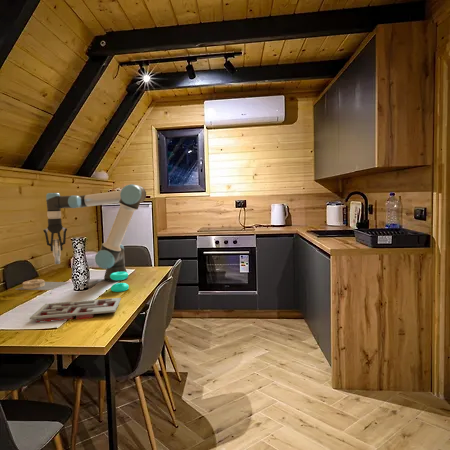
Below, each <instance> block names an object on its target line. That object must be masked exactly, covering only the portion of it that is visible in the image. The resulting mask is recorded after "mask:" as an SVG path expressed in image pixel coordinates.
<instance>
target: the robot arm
mask: <svg viewBox="0 0 450 450" xmlns="http://www.w3.org/2000/svg"><path fill="white" fill-rule="evenodd" d="M45 198H46V201H45V202H46V215H47V228H45V229H42V230H43V232H44V236H45V241H46V245H47V246H49V247H50V252H52V256H53V257H54V258H55V252H54V243H53V240H54V235H55V234H57V237H58V238H57V239H59V254H60V257H61V256H62V252H61V251H63V246H64V245H65V244H66V242H67V241H66V239H67V231H68V228H67V227H64V226H63V224H62V223H63V221H62V211H61V210H62V209H76V208H77V209H79V208H85V207H86V208H87V207H94V206H96V207H97V206H102V205H111V204H119V208H118V211H117V213H116V215H115V218H114V221H113V224H112V226H111V228H110V232H109V233H108V236H107V238H106V241H105V242H103V243H102V244H101V247H100V249H99V250H98V251H97V252H96V254H95V256H94V262H95V263H96V265H97V267H99V268H101V269H102V270H103V269H105V272H104V277H103V280H104V282H109V283H110V282H121V281H125V280H128V279H129V276H128V277H127V278H126V279H123V280H112V279H111V278H110V275H111V274H112V273H115V272H127V273H128V271H127V268H126V265H125V263H126V261H125V247H124V245H123V244H122V242H123V239H124V238H125V234H126V233H127V230H128V227H129V224H130V223H131V219H132V217H133V214H134V212H135V211H137V210H139V207H140V204H141V203H143V202H144V201H145V200H146V198H147V191H146V189H145V187H143V186H141V185H138V184H134V183H132V184H127V185H125V186H123V188H122V189H121V190H116V191H108V192H100V193H92V194H83V195H74V194H73V195H61V194H60V193H59V192H47V193H46V195H45ZM61 231H63V234H62V235H63V236H62V237H63V238H62V237H61ZM48 232H50V233H51V234H50V235H51V236H50V240H49V235H48Z"/></svg>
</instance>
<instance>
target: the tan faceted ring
mask: <svg viewBox="0 0 450 450" xmlns="http://www.w3.org/2000/svg"><path fill="white" fill-rule="evenodd" d="M44 282H45V279H43V278H42V279H41V278H40V279H38V278H37V279H30V280H26V281H23V282H22V287H23V288H24V289H33V288H39V287H42V286H44V285H45V283H44Z"/></svg>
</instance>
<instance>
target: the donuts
mask: <svg viewBox="0 0 450 450" xmlns="http://www.w3.org/2000/svg"><path fill="white" fill-rule="evenodd" d="M127 277H128V278H129V273H128V271H127V272H115V273H112V274H111V275H110V278H111V279H112V280H122V281H124V280H123V279H126V278H127ZM126 280H127V279H126ZM129 288H130V286H129V284H128V283H126V282H118V283H114V284H112V285H111V287H110V291H112V292H114V293H120V292H121V293H122V292H125V291H127V290H129Z"/></svg>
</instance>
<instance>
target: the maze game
mask: <svg viewBox="0 0 450 450" xmlns="http://www.w3.org/2000/svg"><path fill="white" fill-rule="evenodd" d="M121 300H122V297H115V298H113V297H112V298H102V299H101V298H100V299H91V300H89V299H87V300H75V301H63V302H54V303H52V302H51V303H45V304H44V305H43V306H42V307H40V308H39V309H38V310H37V311H36V312H34V313H33V314H32V315H31V316H29V320H35V322H36V323H41V322H40V321H47V322H52V321H51V320H58V321H65V320H64V319H67V320H73V319H74V318H76V320H83V319H84V320H85V319H93V318H94V317H95V315H97V314H108V313H115V312H116V311H117V309H118V306H119V304H120V302H121ZM67 320H66V321H67Z"/></svg>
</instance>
